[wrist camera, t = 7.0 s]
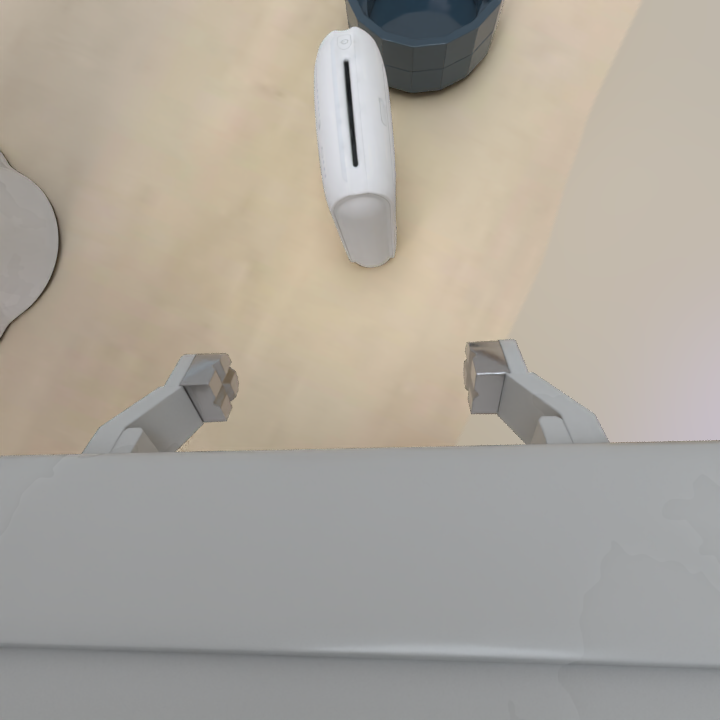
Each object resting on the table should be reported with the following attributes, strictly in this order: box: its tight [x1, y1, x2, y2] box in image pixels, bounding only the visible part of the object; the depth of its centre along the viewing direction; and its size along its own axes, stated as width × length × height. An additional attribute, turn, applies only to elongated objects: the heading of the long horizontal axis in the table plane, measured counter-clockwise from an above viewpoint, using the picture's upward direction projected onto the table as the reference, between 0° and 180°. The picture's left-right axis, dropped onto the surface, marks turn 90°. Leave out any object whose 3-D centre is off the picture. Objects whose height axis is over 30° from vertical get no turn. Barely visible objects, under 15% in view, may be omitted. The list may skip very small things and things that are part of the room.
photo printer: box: [314, 27, 397, 267], centre depth 26 cm, size 10×4×12 cm, turn 5°
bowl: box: [345, 0, 504, 93], centre depth 30 cm, size 12×12×5 cm
